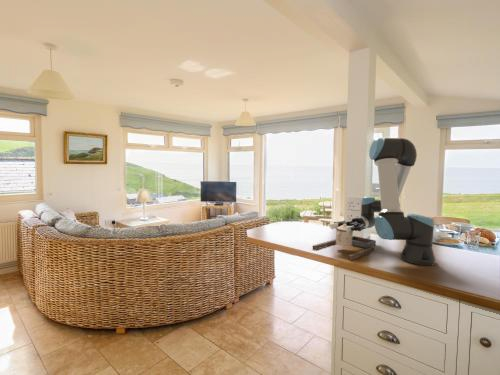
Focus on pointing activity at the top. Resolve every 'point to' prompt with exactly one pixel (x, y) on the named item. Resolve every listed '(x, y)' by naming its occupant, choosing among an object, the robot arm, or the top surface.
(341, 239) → the teacup with lid
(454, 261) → the top surface
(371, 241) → the bin
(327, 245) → the walnut rail lane
